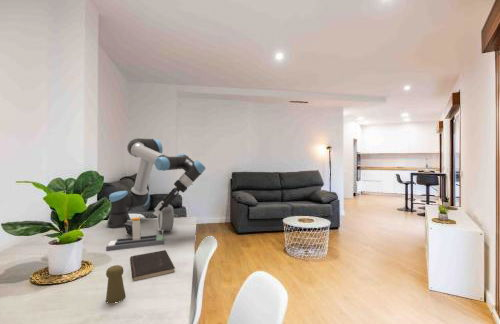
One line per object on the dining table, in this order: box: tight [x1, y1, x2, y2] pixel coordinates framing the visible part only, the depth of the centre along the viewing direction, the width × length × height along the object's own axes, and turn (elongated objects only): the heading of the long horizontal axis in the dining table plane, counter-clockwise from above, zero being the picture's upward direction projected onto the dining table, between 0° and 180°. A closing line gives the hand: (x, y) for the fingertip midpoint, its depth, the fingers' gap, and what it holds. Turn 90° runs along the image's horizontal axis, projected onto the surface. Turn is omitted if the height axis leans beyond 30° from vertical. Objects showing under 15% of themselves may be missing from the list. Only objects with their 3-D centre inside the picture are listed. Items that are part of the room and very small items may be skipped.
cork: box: [105, 264, 126, 304], centre depth 87 cm, size 6×6×11 cm
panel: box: [105, 234, 165, 252], centre depth 141 cm, size 10×28×3 cm, turn 108°
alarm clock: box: [157, 196, 175, 235], centre depth 164 cm, size 16×9×22 cm, turn 27°
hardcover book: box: [129, 249, 176, 282], centre depth 114 cm, size 16×23×2 cm
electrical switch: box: [124, 219, 142, 237], centre depth 157 cm, size 9×5×9 cm, turn 57°
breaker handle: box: [131, 216, 142, 241], centre depth 141 cm, size 4×4×12 cm
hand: (155, 212), depth 144 cm, fingers open, 11 cm apart
